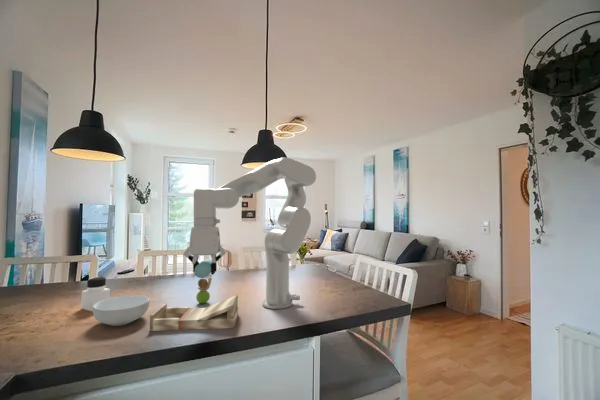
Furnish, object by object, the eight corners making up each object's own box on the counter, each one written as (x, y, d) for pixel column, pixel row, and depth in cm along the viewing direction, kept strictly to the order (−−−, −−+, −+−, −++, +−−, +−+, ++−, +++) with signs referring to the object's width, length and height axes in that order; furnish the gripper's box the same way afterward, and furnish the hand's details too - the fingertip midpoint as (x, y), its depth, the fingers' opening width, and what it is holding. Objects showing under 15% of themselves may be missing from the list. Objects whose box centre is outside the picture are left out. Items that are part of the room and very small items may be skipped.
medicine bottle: (110, 306, 116) (111, 276, 116) (91, 311, 109) (92, 280, 110) (99, 303, 119) (100, 275, 119) (80, 309, 112) (81, 278, 113)
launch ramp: (238, 314, 107) (238, 294, 107) (233, 327, 95) (234, 305, 95) (163, 317, 104) (164, 296, 104) (149, 330, 92) (150, 307, 92)
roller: (214, 272, 105) (214, 258, 105) (209, 277, 97) (209, 263, 97) (200, 273, 104) (200, 259, 105) (194, 278, 96) (194, 263, 97)
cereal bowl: (106, 336, 88) (107, 313, 89) (83, 324, 97) (84, 303, 97) (158, 318, 103) (159, 299, 103) (134, 310, 111) (134, 292, 112)
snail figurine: (207, 305, 117) (208, 276, 117) (193, 304, 118) (194, 275, 119) (214, 301, 122) (214, 273, 123) (200, 300, 123) (201, 273, 124)
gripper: (230, 222, 106) (231, 271, 105) (183, 222, 104) (183, 272, 104) (227, 223, 98) (227, 275, 98) (176, 223, 97) (176, 277, 96)
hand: (205, 273), depth 101 cm, fingers closed on roller, 5 cm apart
